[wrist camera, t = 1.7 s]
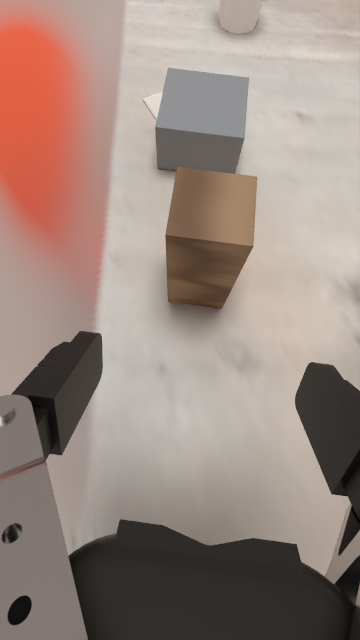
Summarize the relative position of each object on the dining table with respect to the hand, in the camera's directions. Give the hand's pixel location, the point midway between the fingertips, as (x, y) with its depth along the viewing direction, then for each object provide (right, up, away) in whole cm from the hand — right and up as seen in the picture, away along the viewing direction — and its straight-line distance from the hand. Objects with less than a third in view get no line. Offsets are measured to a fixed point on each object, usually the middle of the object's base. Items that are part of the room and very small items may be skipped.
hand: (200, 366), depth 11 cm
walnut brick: (+1, +6, +17) cm, 18 cm away
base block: (+2, +23, +23) cm, 33 cm away
